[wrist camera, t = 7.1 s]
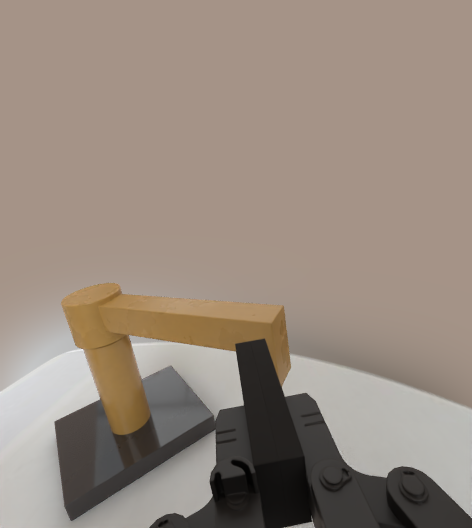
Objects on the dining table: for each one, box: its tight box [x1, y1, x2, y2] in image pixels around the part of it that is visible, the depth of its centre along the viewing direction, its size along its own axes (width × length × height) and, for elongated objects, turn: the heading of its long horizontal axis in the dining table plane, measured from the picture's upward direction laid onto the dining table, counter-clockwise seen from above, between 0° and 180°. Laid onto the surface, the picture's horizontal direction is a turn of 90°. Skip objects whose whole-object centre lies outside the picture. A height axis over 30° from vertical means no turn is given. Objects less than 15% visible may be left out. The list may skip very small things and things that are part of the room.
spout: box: [61, 283, 291, 387], centre depth 22 cm, size 18×4×5 cm, turn 64°
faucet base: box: [55, 335, 215, 521], centre depth 27 cm, size 12×10×10 cm
